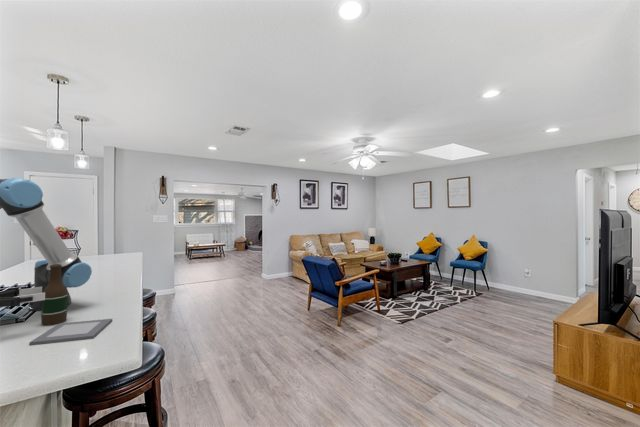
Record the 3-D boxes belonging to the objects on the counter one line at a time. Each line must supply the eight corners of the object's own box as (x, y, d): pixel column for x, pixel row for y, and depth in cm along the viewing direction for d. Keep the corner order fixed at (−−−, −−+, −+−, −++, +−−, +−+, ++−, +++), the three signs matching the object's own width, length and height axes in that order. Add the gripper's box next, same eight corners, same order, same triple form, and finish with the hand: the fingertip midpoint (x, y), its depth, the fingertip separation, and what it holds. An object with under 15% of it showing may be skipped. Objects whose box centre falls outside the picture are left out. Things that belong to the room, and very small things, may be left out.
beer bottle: (50, 326, 110) (52, 266, 111) (35, 325, 112) (37, 265, 112) (71, 319, 118) (73, 263, 118) (57, 318, 119) (59, 262, 120)
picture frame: (59, 325, 111) (59, 323, 111) (112, 320, 117) (112, 318, 117) (29, 345, 94) (29, 342, 94) (93, 338, 100) (93, 335, 100)
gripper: (-40, 307, 104) (40, 296, 120) (-48, 325, 88) (46, 309, 104) (-39, 287, 104) (41, 279, 120) (-47, 301, 88) (46, 289, 104)
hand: (43, 292), depth 112 cm, fingers open, 13 cm apart
